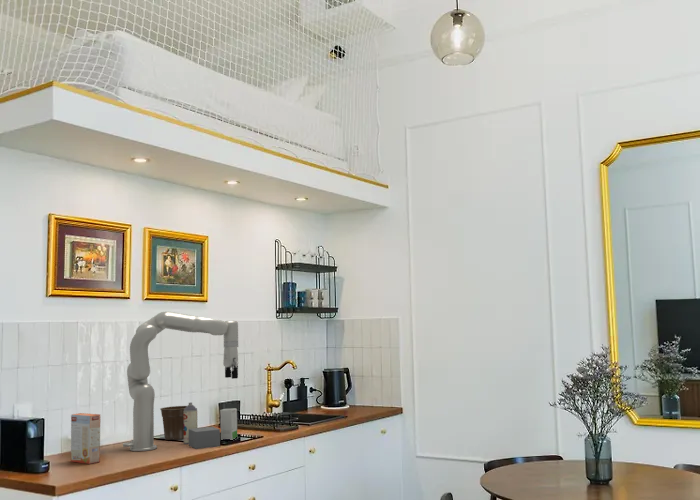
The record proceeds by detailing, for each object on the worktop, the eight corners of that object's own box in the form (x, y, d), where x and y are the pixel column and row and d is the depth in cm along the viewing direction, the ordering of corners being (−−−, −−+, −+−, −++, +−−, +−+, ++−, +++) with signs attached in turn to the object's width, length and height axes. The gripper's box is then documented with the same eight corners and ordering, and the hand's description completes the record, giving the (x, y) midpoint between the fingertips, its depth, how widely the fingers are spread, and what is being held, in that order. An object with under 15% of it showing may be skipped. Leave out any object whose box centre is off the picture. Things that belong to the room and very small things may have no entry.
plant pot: (154, 439, 373) (154, 408, 374) (180, 435, 384) (180, 404, 386) (171, 442, 362) (171, 409, 363) (198, 437, 373) (197, 406, 375)
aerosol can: (182, 442, 358) (182, 402, 360) (196, 441, 361) (195, 401, 363) (185, 444, 352) (184, 403, 354) (198, 443, 355) (198, 402, 357)
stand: (195, 449, 339) (195, 431, 339) (188, 445, 349) (188, 429, 350) (220, 446, 344) (219, 429, 345) (212, 442, 355) (212, 426, 356)
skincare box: (232, 441, 358) (231, 409, 360) (219, 441, 360) (219, 410, 361) (237, 438, 366) (237, 407, 368) (225, 438, 368) (225, 408, 369)
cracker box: (101, 462, 312) (101, 413, 314) (88, 464, 307) (89, 415, 309) (82, 459, 320) (82, 412, 322) (70, 461, 315) (70, 413, 317)
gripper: (218, 344, 375) (218, 377, 373) (229, 345, 360) (230, 379, 358) (232, 344, 378) (232, 376, 376) (243, 344, 363) (244, 378, 362)
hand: (231, 377), depth 367 cm, fingers open, 9 cm apart
